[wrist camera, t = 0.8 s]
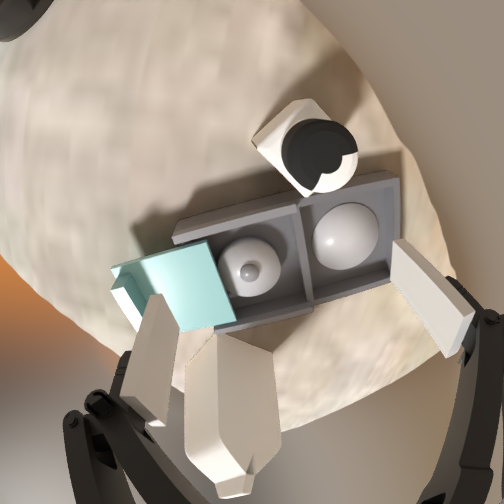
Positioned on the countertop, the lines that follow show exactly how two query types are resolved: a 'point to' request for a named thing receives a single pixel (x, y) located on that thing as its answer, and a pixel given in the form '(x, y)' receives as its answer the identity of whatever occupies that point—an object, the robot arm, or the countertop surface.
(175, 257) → the lid
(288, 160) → the medicine bottle
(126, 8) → the countertop surface
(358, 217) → the housing
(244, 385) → the milk
